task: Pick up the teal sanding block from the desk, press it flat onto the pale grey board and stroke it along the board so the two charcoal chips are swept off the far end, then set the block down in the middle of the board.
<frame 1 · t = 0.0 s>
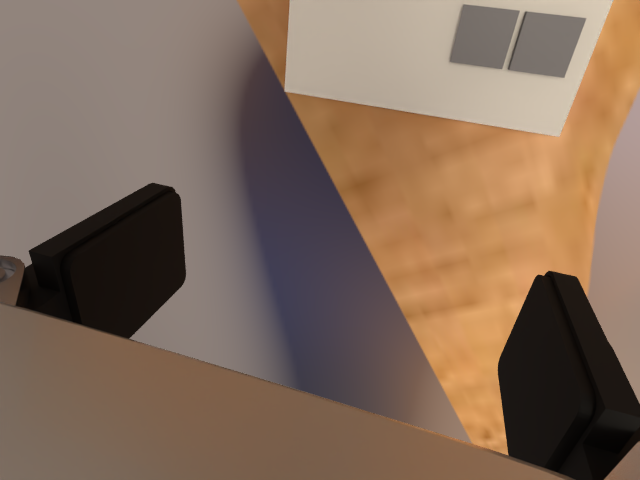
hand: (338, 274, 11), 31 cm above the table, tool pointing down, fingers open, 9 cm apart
board: (432, 29, 35), on the table
chip b: (543, 44, 32), point 2 cm above the table, touching board
chip a: (482, 36, 32), point 2 cm above the table, touching board
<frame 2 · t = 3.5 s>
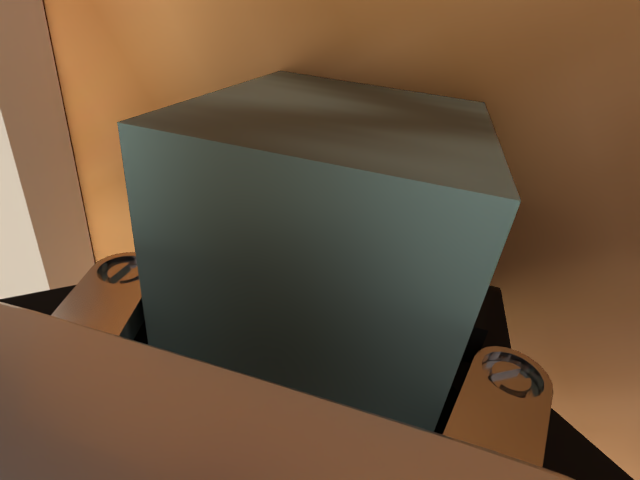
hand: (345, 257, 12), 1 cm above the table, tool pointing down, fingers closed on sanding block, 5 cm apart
sanding block: (351, 245, 12), on the table, touching gripper
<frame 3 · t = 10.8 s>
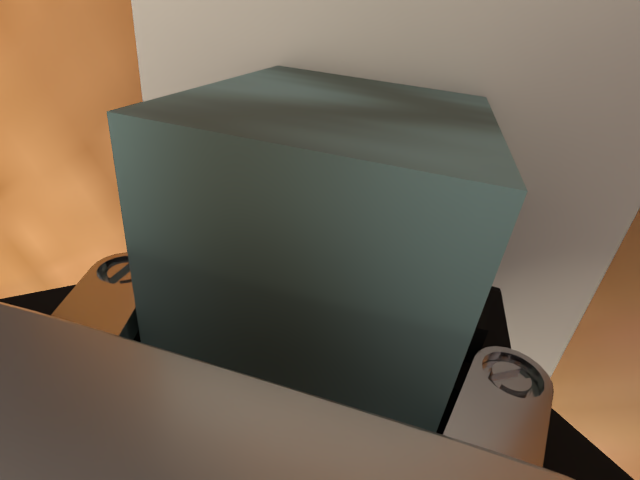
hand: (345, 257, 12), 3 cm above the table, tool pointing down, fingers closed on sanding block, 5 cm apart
sanding block: (350, 244, 12), point 2 cm above the table, touching chip a, gripper
board: (378, 123, 12), on the table
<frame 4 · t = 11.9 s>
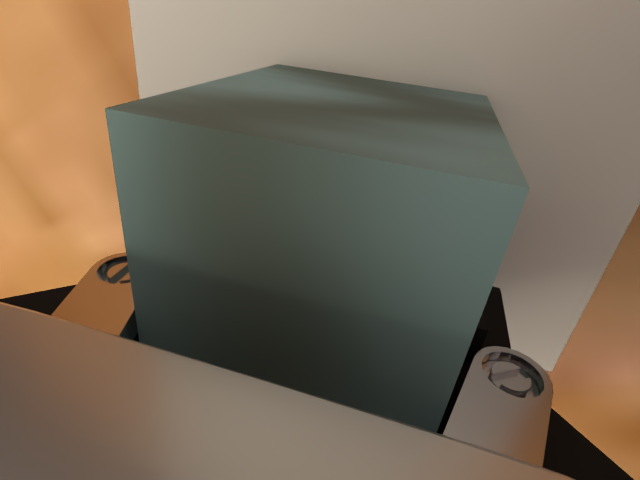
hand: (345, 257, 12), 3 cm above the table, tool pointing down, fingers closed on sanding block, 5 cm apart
sanding block: (350, 243, 12), point 2 cm above the table, touching gripper
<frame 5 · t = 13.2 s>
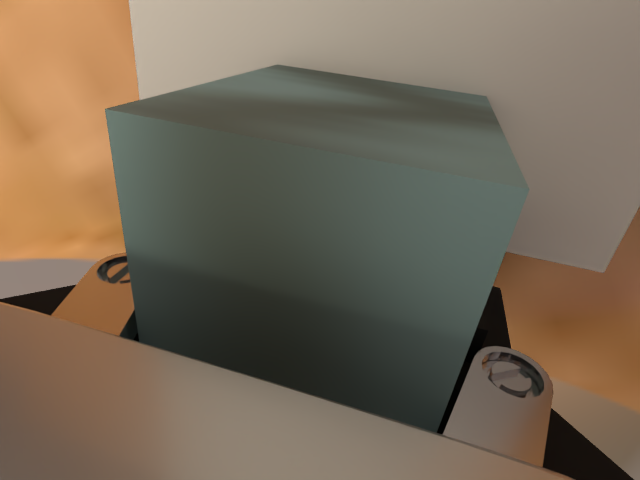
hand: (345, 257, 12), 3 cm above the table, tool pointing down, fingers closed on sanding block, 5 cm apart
sanding block: (350, 243, 12), point 2 cm above the table, touching gripper
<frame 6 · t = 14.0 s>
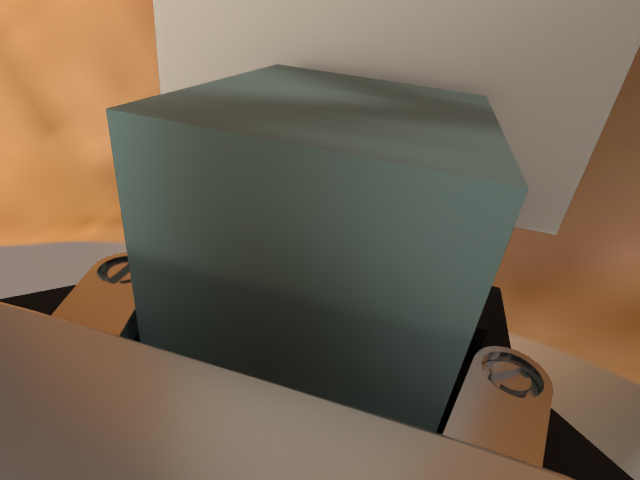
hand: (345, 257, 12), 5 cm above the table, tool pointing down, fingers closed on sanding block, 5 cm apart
sanding block: (350, 243, 12), point 4 cm above the table, touching gripper
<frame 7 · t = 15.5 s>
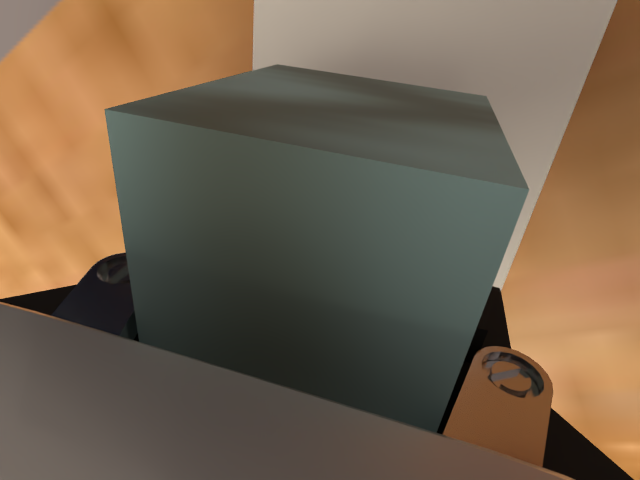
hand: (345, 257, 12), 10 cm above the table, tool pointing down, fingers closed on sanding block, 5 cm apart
sanding block: (350, 243, 12), point 10 cm above the table, touching gripper
board: (391, 153, 20), on the table
when the fingers open (4 cm above the table, at t = 17.3 s): sanding block drops 1 cm, resting on board.
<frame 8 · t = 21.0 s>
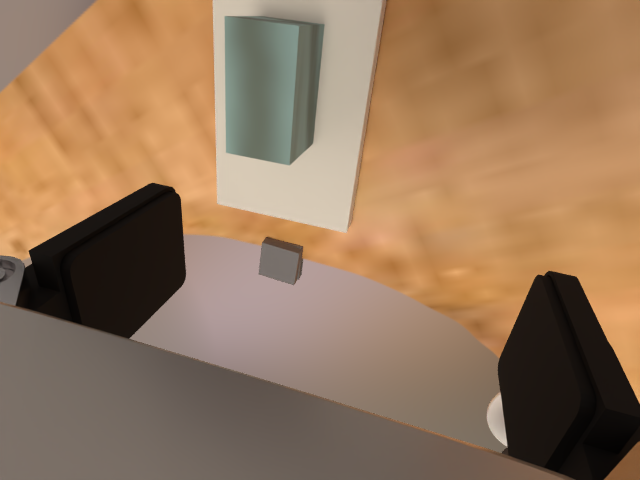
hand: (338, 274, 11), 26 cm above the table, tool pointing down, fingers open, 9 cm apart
panda figurine: (540, 417, 45), on the table
sanding block: (288, 83, 33), point 2 cm above the table, touching board
board: (296, 81, 35), on the table
chip b: (282, 259, 44), on the table, tilted 179°
chip a: (281, 259, 44), on the table
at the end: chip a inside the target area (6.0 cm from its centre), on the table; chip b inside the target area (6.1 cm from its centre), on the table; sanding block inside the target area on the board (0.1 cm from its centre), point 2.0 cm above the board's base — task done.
